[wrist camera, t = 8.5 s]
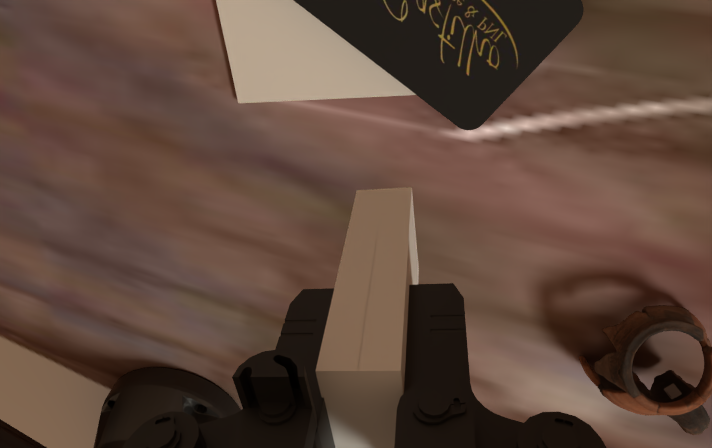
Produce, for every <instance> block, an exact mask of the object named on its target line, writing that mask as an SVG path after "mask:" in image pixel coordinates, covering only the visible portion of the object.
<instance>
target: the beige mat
mask: <svg viewBox="0 0 712 448" xmlns="http://www.w3.org/2000/svg"><path fill="white" fill-rule="evenodd" d="M216 3H217V7H218V12H219V17H220V21H221V26H222V30H223V35H224V39H225V44H226V49H227V53H228V58H229V62H230V67H231V72H232V76H233V81H234V85H235V90H236V94H237V99H238V103H255V102H276V101H297V100H318V99H340V98H361V97H382V96H403V95H416V94H415V93H413V92H412V91H411V90H410V89H408V88H407V87H406V86H404V85H403V84H402V83H400V82H399V81H398V80H397V79H395V78H394V77H393V76H391V75H390V74H389V73H387V72H386V71H385V70H383V69H382V68H381V67H380V66H378V65H377V64H376V63H374V62H373V61H372V60H370V59H369V58H368V57H367V56H365V55H364V54H363V53H361V52H360V51H359V50H357V49H356V48H355V47H353V46H352V45H351V44H350V43H348V42H347V41H346V40H344V39H343V38H342V37H340V36H339V35H338V34H337V33H335V32H334V31H333V30H331V29H330V28H329V27H327V26H326V25H325V24H323V23H322V22H321V21H320V20H318V19H317V18H316V17H314V16H313V15H312V14H310V13H309V12H308V11H307V10H305V9H304V8H303V7H301V6H300V5H299V4H297V3H296V2H295V1H293V0H216Z"/></svg>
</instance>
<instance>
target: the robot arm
mask: <svg viewBox="0 0 712 448" xmlns="http://www.w3.org/2000/svg"><path fill="white" fill-rule="evenodd" d="M418 273H419V267H418V255H417V244H416V232H415V221H414V209H413V197H412V187H406V188H389V189H372V190H357V192H356V196H355V201H354V205H353V209H352V214H351V218H350V222H349V227H348V231H347V235H346V240H345V244H344V249H343V253H342V257H341V262H340V266H339V270H338V275H337V279H336V283H335V288H334V289H303V290H302V291H301V292H300V294H299V295H298V296H297V297H296V298H295V299H294V300H293V301H292V302H291V304H290V306H289V309H288V312H287V315H286V318H285V323H284V325H283V328H282V331H281V337H279V340H278V343H277V346H276V349H275V350H272V351H265V352H261V353H259V354H257V355H255V356H252V357H250V358H249V359H248V360H246V361H245V362H244V363H243V364H241V365H240V366H239V367H238V369H237V370H236V372H235V374H234V375H233V377H232V378H233V381H234V383H235V386H236V389H237V392H238V395H239V398H240V401H241V404H242V407H243V409H242V410H241V409H240V408H239V406H238V405H237V404H236V403H235V401H234V400H233V399H232V398H231V397H230V396H229V395H228V394H226V393H225V392H224V391H223V390H221V389H220V388H219V387H217V386H216V385H214V384H212V383H211V382H209V381H207V380H205V379H203V378H201V377H198V376H196V375H193V374H190V373H187V372H184V371H180V370H175V369H169V368H144V369H139V370H135V371H132V372H130V373H127V374H126V375H124V376H122V377H121V378H120V379H119V380H118V381H117V382H116V383H115V385H114V386H113V388H112V390H111V391H110V393H109V395H108V396H107V398H106V400H105V402H104V404H103V407H102V411H101V415H100V420H99V424H98V429H97V434H96V439H95V443H94V448H606V446H605V444H604V443H603V441H602V439H601V438H600V436H599V435H598V434H597V433H596V432H595V431H594V430H593V428H592V427H591V426H590V425H589V424H587V423H585V422H584V421H582V420H580V419H579V418H577V417H576V416H572V415H569V414H565V413H561V412H542V413H540V414H537V415H535V416H532V417H530V418H529V419H528V420H527V421H526V422H525V423H522V422H518V421H515V420H511V419H508V418H505V417H502V416H500V415H497V414H495V413H493V412H491V411H490V410H488V409H487V408H485V407H484V406H483V405H482V404H481V403H480V402H479V401H478V400H477V399H476V397H475V395H474V394H473V392H472V389H471V385H470V376H469V363H468V350H467V337H466V324H465V311H464V298H463V296H462V295H461V294H460V292H459V291H458V289H457V288H456V287H455V285H454V284H453V283H450V284H418ZM0 448H46V447H45V446H43V445H42V444H40V443H38V442H37V441H35V440H33V439H32V438H30V437H28V436H27V435H25V434H24V433H22V432H20V431H19V430H17V429H15V428H14V427H12V426H10V425H9V424H7V423H5V422H4V421H2V420H1V419H0Z"/></svg>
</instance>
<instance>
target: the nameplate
mask: <svg viewBox="0 0 712 448" xmlns="http://www.w3.org/2000/svg"><path fill="white" fill-rule="evenodd" d="M293 1H295V2H296V3H297V4H299V5H300V6H301V7H303V8H304V9H305V10H307V11H308V12H309V13H310V14H312V15H313V16H314V17H316V18H317V19H318V20H320V21H321V22H322V23H323V24H325V25H326V26H327V27H329V28H330V29H331V30H333V31H334V32H335V33H337V34H338V35H339V36H340V37H342V38H343V39H344V40H346V41H347V42H348V43H350V44H351V45H352V46H353V47H355V48H356V49H357V50H359V51H360V52H361V53H363V54H364V55H365V56H367V57H368V58H369V59H370V60H372V61H373V62H374V63H376V64H377V65H378V66H380V67H381V68H382V69H383V70H385V71H386V72H387V73H389V74H390V75H391V76H393V77H394V78H395V79H397V80H398V81H399V82H400V83H402V84H403V85H404V86H406V87H407V88H408V89H410V90H411V91H412V92H413V93H415V94H416V95H417V96H419V97H420V98H421V99H423V100H424V101H425V102H427V103H428V104H429V105H430V106H432V107H433V108H434V109H436V110H437V111H438V112H440V113H441V114H442V115H443V116H445V117H446V118H447V119H449V120H450V121H451V122H453V123H454V124H455V125H456V126H458V127H459V128H461V129H464V130H473V129H476V128H478V127H480V126H481V125H482V124H483V123H484V122H485V121H486V120H487V119H488V118H489V117H490V116H491V115H492V114H493V113H494V111H495V110H496V109H497V108H498V107H499V106H500V105H501V104H502V103H503V102H504V101H505V100H506V99H507V98H508V97H509V96H510V95H511V94H512V93H513V92H514V90H515V89H516V88H517V87H518V86H519V85H520V84H521V83H522V82H523V81H524V80H525V79H526V78H527V77H528V76H529V75H530V74H531V73H532V72H533V71H534V70H535V68H536V67H537V66H538V65H539V64H540V63H541V62H542V61H543V60H544V59H545V58H546V57H547V56H548V55H549V54H550V53H551V52H552V51H553V50H554V49H555V47H556V46H557V45H558V44H559V43H560V42H561V41H562V40H563V39H564V38H565V37H566V36H567V35H568V34H569V33H570V32H571V31H572V30H573V29H574V28H575V26H576V25H577V24H578V23H579V21H580V20H581V18H582V15H583V4H582V1H581V0H293Z"/></svg>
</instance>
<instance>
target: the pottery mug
mask: <svg viewBox="0 0 712 448" xmlns="http://www.w3.org/2000/svg"><path fill="white" fill-rule="evenodd" d="M602 331H603V332H604V333H605V334H606V335H607V337H608V338H609V340H610V341H611V342H612V344H613V345H614V347H615V349H616V353H608V354H606V355H605V356H604V357H603V358H602V359H601V360H599V361H596V362H595V370H594V369H593V368H592V367H591V366H590V365H589V364H588V363H587V361H586V359H585V358H584V357H583V356H580V357H579V360H580V362H581V364H582V367H583V369H584V371H585V373H586V375H587V376H588V377H589V378H590V380H591V381H592V382H593V383H594V384H595V385H596V386H598V388H599V389H600V392H601V393H602V395H603V396H605V397H606V398H607V399H609V400H610V401H611V402H612V403H614V404H615V405H617V406H619V407H621V408H623V409H626V410H628V411H631V412H633V413H637V414H642V415H667V416H669V417H671V418H672V419H673V420H675V421H676V422H677V423H678V424H679V425H680V426H681V428H682V429H683V430H684V431H685V432H687V433H689V434H692V435H697V434H701V433H702V432H703V431H704V430H705V429H707V428H708V425H709V422H710V418H709V416H708V414H707V412H706V410H705V409H704V407H703V406H702V404H703V403H704V402H706V400H707V399H708V398H709V397H710V395H711V394H712V347H711V344H710V341H709V340H708V338H707V334H706V331H705V328H704V327H703V325H702V324H701V323H700V321H699V320H698V319H697V318H696V317H695V316H694V315H693V314H691V313H690V312H689V311H688V310H686V309H685V308H681V307H676V306H665V305H658V306H647V307H644V308H643V310H642V312H639V311H636V312H634V313H632V314H631V315H629V316H628V317H627V318H626V319H625V320H623V321H622V322H621V323H619V324H617V325H615V326H610V327H607V328H604V329H602ZM663 331H681V332H684V333H687V334H689V335H690V336H692V337H693V338H695V339H696V340H698V341H699V343H700V344H701V346H702V351H703V355H704V372H703V375H702V378H701V380H700V382H699V384H698V386H697V387H696V388H695V387H693V386H692V385H691V384H688V383H686V382H685V381H684V380H682V378H681V377H680V376H678V375H676V374H675V373H674V371H672V370H669V371H667V372H665V373H664V374H661V375H658V376H656V377H655V378H654V383H653V384H652V387H651V389H650V391H649V390H648V389H647V387H646V386H645V385H644V384H643V383H642V382H641V381H640V379H639V378H638V376H637V375H636V374H632V364H633V359H634V355H635V353H636V352H637V350H638V348H639V347H640V346H641V345H642V344H643V342H644V341H645V340H647V339H648V338H649V337H651V336H652V335H654V334H657V333H659V332H663Z"/></svg>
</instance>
